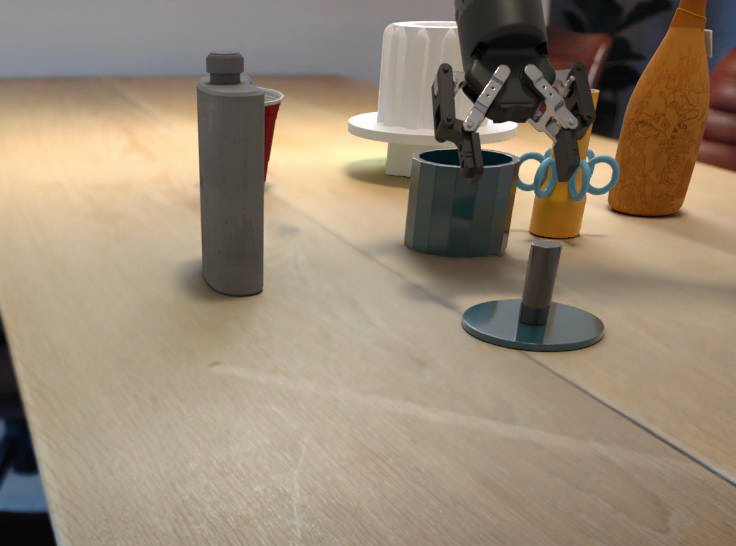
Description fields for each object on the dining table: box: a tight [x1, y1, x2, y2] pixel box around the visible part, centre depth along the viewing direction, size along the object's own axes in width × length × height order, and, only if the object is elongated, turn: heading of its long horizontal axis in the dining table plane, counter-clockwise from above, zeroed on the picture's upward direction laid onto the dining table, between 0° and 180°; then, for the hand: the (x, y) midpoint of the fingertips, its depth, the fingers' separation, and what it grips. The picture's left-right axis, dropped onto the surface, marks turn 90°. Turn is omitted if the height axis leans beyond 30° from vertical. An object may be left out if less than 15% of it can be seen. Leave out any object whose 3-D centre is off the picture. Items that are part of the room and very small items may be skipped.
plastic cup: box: [257, 86, 285, 186], centre depth 128 cm, size 11×11×12 cm
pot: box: [403, 148, 521, 259], centre depth 102 cm, size 12×12×10 cm
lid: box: [461, 239, 606, 352], centre depth 80 cm, size 12×12×8 cm
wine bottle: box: [607, 0, 713, 217], centre depth 111 cm, size 10×10×30 cm
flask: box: [195, 50, 265, 297], centre depth 90 cm, size 15×6×20 cm, turn 7°
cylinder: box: [516, 88, 620, 239], centre depth 106 cm, size 12×10×15 cm
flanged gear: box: [347, 20, 519, 178], centre depth 134 cm, size 25×25×19 cm
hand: (522, 178), depth 81 cm, fingers open, 8 cm apart
